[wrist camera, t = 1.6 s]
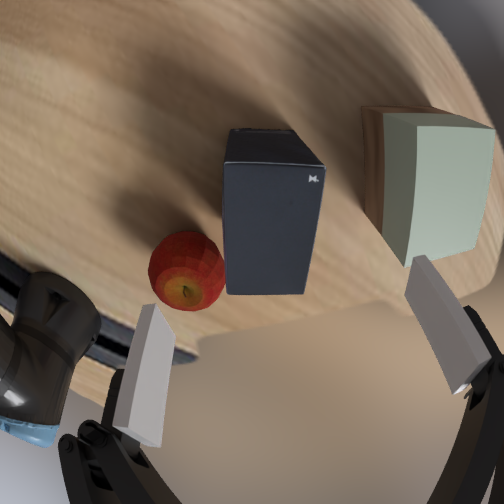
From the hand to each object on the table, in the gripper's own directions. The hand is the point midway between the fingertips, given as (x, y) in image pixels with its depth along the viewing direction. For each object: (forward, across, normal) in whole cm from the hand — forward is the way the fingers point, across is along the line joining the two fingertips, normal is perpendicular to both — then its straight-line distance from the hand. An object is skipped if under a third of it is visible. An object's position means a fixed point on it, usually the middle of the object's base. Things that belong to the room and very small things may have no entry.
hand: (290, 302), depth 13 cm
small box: (+16, 0, 0) cm, 16 cm away
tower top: (+12, +15, 0) cm, 19 cm away
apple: (+16, -9, -6) cm, 20 cm away
